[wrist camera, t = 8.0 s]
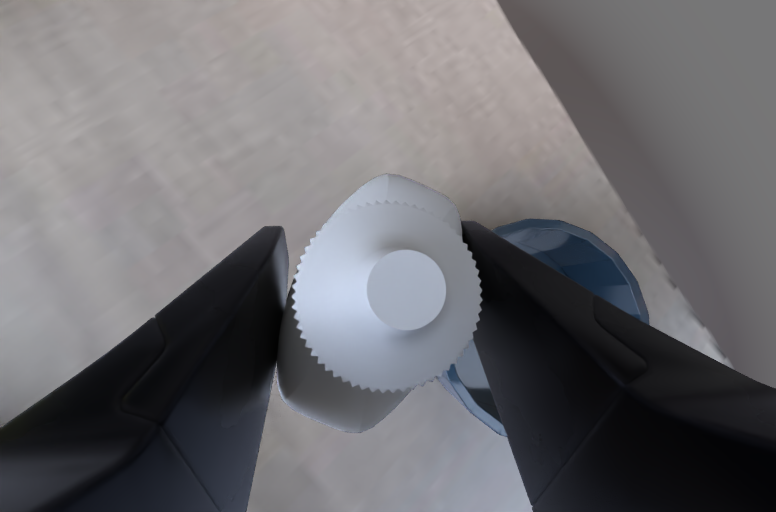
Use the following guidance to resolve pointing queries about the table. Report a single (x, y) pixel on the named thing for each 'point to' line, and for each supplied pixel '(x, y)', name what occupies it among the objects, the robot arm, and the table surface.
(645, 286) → the table surface
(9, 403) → the table surface
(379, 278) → the eye dropper bottle
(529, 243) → the blue bowl
